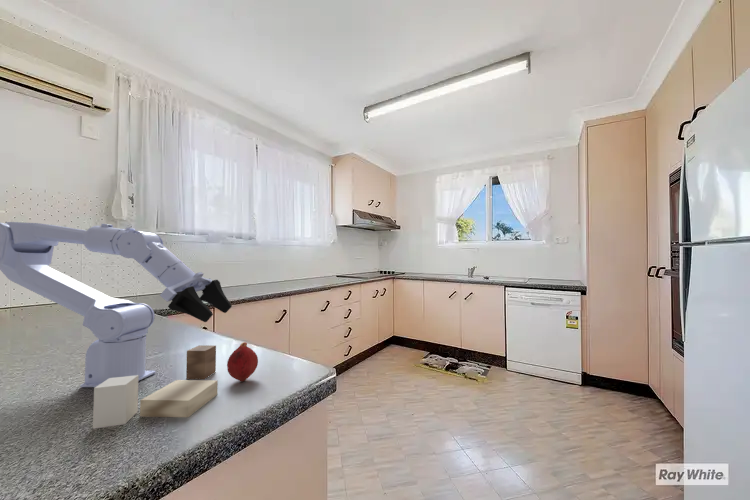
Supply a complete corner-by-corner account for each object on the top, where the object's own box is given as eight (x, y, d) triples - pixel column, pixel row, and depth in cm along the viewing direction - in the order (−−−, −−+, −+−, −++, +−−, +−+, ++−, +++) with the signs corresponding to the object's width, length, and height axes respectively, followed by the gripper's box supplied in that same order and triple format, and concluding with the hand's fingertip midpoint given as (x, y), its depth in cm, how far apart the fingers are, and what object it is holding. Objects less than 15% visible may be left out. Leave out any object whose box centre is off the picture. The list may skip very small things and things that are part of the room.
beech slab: (140, 418, 47) (140, 399, 47) (175, 396, 55) (176, 379, 55) (188, 419, 47) (188, 400, 47) (217, 396, 55) (217, 380, 55)
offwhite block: (92, 428, 44) (94, 388, 44) (108, 415, 47) (109, 378, 48) (125, 424, 45) (126, 384, 45) (137, 411, 49) (138, 375, 49)
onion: (245, 388, 57) (246, 347, 57) (220, 386, 58) (220, 345, 59) (263, 377, 63) (263, 339, 63) (239, 375, 64) (239, 338, 64)
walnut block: (186, 379, 62) (186, 350, 62) (198, 372, 66) (198, 345, 66) (204, 379, 62) (204, 350, 62) (215, 372, 66) (216, 345, 66)
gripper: (158, 260, 56) (212, 307, 56) (204, 256, 70) (246, 294, 70) (135, 288, 56) (188, 334, 56) (185, 278, 70) (227, 315, 71)
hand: (219, 313), depth 63 cm, fingers open, 7 cm apart
